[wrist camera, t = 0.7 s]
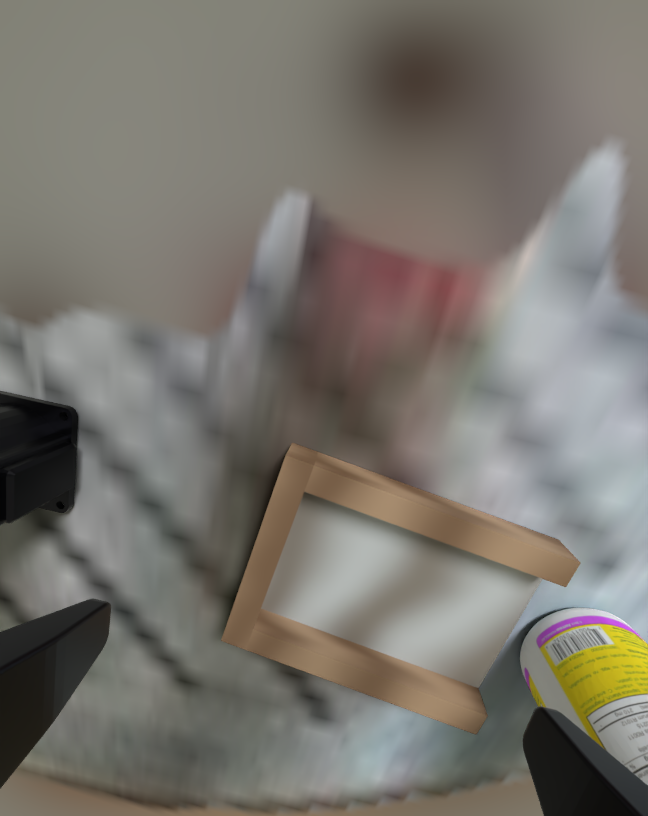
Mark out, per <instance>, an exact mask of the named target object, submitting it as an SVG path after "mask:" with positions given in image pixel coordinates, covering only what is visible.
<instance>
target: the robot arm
mask: <svg viewBox="0 0 648 816" xmlns="http://www.w3.org/2000/svg"><path fill="white" fill-rule="evenodd" d="M65 413H66V414H67V415H68V418H66V416H65ZM77 419H78V416H77V412H76V410H75V409H74V408H73V407H70V406H66V405H62V404H57V403H53V402H48V401H44V400H39V399H35V398H30V397H26V396H21V395H17V394H12V393H8V392H3V391H0V525H2V524H3V523H12V522H14V521H16V520H17V519H19V518H21V517H23V516H24V515H26V514H28V513H30V512H31V511H33V510H35V509H37V508H42V509H46V510H51V511H55V512H59V513H64V512H66V511H68V510H70V509H71V508H72V507H73V504H74V486H75V469H76V441H77ZM62 502H63V503H64V505H63V504H62ZM110 614H111V605H110V603H108V602H105V601H101V600H97V599H89V600H86V601H83V602H81V603H78V604H75V605H72V606H70V607H67V608H64V609H62V610H59V611H56V612H53V613H51V614H48V615H45V616H43V617H40V618H37V619H35V620H32V621H29V622H26V623H24V624H21V625H18V626H16V627H13V628H10V629H8V630H5V631H2V632H0V788H1V787H2V786H3V785H4V783H5V782H6V781H7V780H8V778H9V777H10V776H11V775H12V773H13V772H14V771H15V770H16V768H17V767H18V766H19V765H20V764H21V762H22V761H23V760H24V759H25V757H26V756H27V755H28V754H29V752H30V751H31V750H32V749H33V747H34V746H35V745H36V744H37V742H38V741H39V740H40V739H41V737H42V736H43V735H44V733H45V732H46V731H47V730H48V728H49V727H50V726H51V724H52V723H53V722H54V720H55V719H56V717H57V716H58V715H59V713H60V712H61V710H62V709H63V707H64V706H65V704H66V703H67V701H68V700H69V698H70V697H71V695H72V694H73V692H74V691H75V689H76V688H77V687H78V685H79V684H80V682H81V681H82V679H83V678H84V676H85V675H86V673H87V672H88V670H89V669H90V667H91V666H92V664H93V663H94V661H95V660H96V658H97V657H98V655H99V654H100V652H101V651H102V649H103V647H104V645H105V644H106V641H107V638H108V634H109V625H110ZM523 748H524V753H525V757H526V760H527V763H528V766H529V769H530V773H531V776H532V779H533V782H534V785H535V788H536V792H537V795H538V798H539V801H540V805H541V808H542V811H543V814H544V816H648V785H647V784H646V783H644V782H643V781H642V780H641V779H640V778H638V777H637V776H636V775H635V774H634V773H632V772H631V771H630V770H629V769H628V768H626V767H625V766H624V765H623V764H622V763H621V762H619V761H618V760H617V759H616V758H615V757H613V756H612V755H611V754H610V753H609V752H607V751H606V750H605V749H604V748H603V747H601V746H600V745H599V744H598V743H597V742H595V741H594V740H593V739H592V738H591V737H590V736H588V735H587V734H586V733H585V732H584V731H582V730H581V729H580V728H579V727H578V726H576V725H575V724H574V723H573V722H572V721H570V720H569V719H568V718H567V717H566V716H564V715H563V714H562V713H561V712H559V711H557V710H554V709H550V708H546V707H542V706H539V707H537V708H536V709H535V710H534V712H533V714H532V717H531V719H530V721H529V723H528V726H527V728H526V730H525V733H524V736H523Z"/></svg>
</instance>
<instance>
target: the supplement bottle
mask: <svg viewBox="0 0 648 816" xmlns="http://www.w3.org/2000/svg"><path fill="white" fill-rule="evenodd" d="M520 664H521V669H522V673H523V675H524V678H525V680H526V682H527V684H528V687H529V689H530V691H531V693H532V695H533V697H534V699H535V701H536V703H537V705H538V707H539V706H542V707H546V708H550V709H554V710H557V711H559V712H561V713H562V714H563V715H564V716H566V717H567V718H568V719H569V720H570V721H572V722H573V723H574V724H575V725H576V726H578V727H579V728H580V729H581V730H582V731H584V732H585V733H586V734H587V735H588V736H590V737H591V738H592V739H593V740H594V741H595V742H597V743H598V744H599V745H600V746H601V747H603V748H604V749H605V750H606V751H607V752H609V753H610V754H611V755H612V756H613V757H615V758H616V759H617V760H618V761H619V762H621V763H622V764H623V765H624V766H625V767H626V768H628V769H629V770H630V771H631V772H632V773H634V774H635V775H636V776H637V777H638V778H640V779H641V780H642V781H643V782H644V783H646V784H647V785H648V644H647V643H646V642H645V641H644V640H643V639H642V638H641V637H640V636H639V635H638V634H637V633H636V632H635V631H634V630H633V629H632V628H631V627H630V626H629V625H628V624H627V623H626V622H624V621H623V620H621V619H620V618H618V617H617V616H615V615H613V614H611V613H608V612H605V611H602V610H597V609H591V608H570V609H564V610H561V611H557V612H555V613H552V614H550V615H548V616H546V617H544V618H543V619H542V620H540V621H539V622H538V623H536V624H535V625H534V626H533V628H532V629H531V630H530V631H529V633H528V634H527V636H526V637H525V639H524V642H523V644H522V647H521V653H520Z"/></svg>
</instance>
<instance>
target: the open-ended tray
mask: <svg viewBox="0 0 648 816" xmlns="http://www.w3.org/2000/svg"><path fill="white" fill-rule="evenodd" d="M579 565H580V562H579V561H578V560H577V559H576V558H575V556H574V555H573V554H572V553H571V552H570V551H569V550H568V549H567V548H566V547H565V546H564V545H563V544H562V543H561V542H560V541H559V540H558V539H555V538H552V537H549V536H547V535H544V534H541V533H538V532H536V531H533V530H530V529H528V528H525V527H522V526H519V525H517V524H514V523H511V522H508V521H506V520H503V519H500V518H497V517H495V516H492V515H489V514H486V513H484V512H481V511H478V510H475V509H473V508H470V507H467V506H465V505H462V504H459V503H456V502H454V501H451V500H448V499H445V498H443V497H440V496H437V495H434V494H432V493H429V492H426V491H423V490H421V489H418V488H415V487H413V486H410V485H407V484H404V483H402V482H399V481H396V480H393V479H391V478H388V477H385V476H382V475H380V474H377V473H374V472H371V471H369V470H366V469H363V468H360V467H358V466H355V465H352V464H350V463H347V462H344V461H341V460H339V459H336V458H333V457H330V456H328V455H325V454H322V453H319V452H317V451H314V450H311V449H308V448H306V447H303V446H300V445H298V444H295V443H292V444H291V446H290V448H289V450H288V452H287V453H286V455H285V458H284V461H283V464H282V467H281V470H280V473H279V476H278V478H277V481H276V484H275V487H274V490H273V493H272V496H271V499H270V501H269V504H268V507H267V510H266V513H265V516H264V519H263V522H262V524H261V527H260V530H259V533H258V536H257V539H256V542H255V545H254V547H253V550H252V553H251V556H250V559H249V562H248V565H247V568H246V570H245V573H244V576H243V579H242V582H241V585H240V588H239V591H238V593H237V596H236V599H235V602H234V605H233V608H232V611H231V613H230V616H229V619H228V622H227V625H226V628H225V631H224V634H223V636H222V639H221V641H223V642H226V643H228V644H231V645H234V646H237V647H239V648H242V649H245V650H247V651H250V652H253V653H256V654H258V655H261V656H264V657H267V658H269V659H272V660H275V661H277V662H280V663H283V664H286V665H288V666H291V667H294V668H296V669H299V670H302V671H305V672H307V673H310V674H313V675H315V676H318V677H321V678H324V679H326V680H329V681H332V682H334V683H337V684H340V685H343V686H345V687H348V688H351V689H353V690H356V691H359V692H362V693H364V694H367V695H370V696H372V697H375V698H378V699H381V700H383V701H386V702H389V703H391V704H394V705H397V706H400V707H402V708H405V709H408V710H410V711H413V712H416V713H419V714H421V715H424V716H427V717H429V718H432V719H435V720H438V721H440V722H443V723H446V724H448V725H451V726H454V727H457V728H459V729H462V730H465V731H467V732H470V733H473V734H477V733H478V731H479V730H480V728H481V726H482V725H483V723H484V721H485V720H486V718H487V716H488V715H487V712H486V709H485V706H484V703H483V700H482V697H481V694H480V691H479V687H480V685H481V683H482V682H483V680H484V678H485V676H486V675H487V673H488V671H489V670H490V668H491V666H492V664H493V663H494V661H495V659H496V658H497V656H498V654H499V652H500V651H501V649H502V647H503V646H504V644H505V642H506V640H507V639H508V637H509V635H510V634H511V632H512V630H513V629H514V627H515V625H516V623H517V622H518V620H519V618H520V617H521V615H522V613H523V611H524V610H525V608H526V606H527V605H528V603H529V601H530V599H531V598H532V596H533V594H534V593H535V591H536V589H537V587H538V586H539V584H540V582H541V581H542V579H545V580H547V581H550V582H553V583H556V584H558V585H561V586H564V587H566V586H567V585H568V583H569V581H570V580H571V578H572V576H573V575H574V573H575V571H576V570H577V568H578V566H579Z"/></svg>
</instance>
